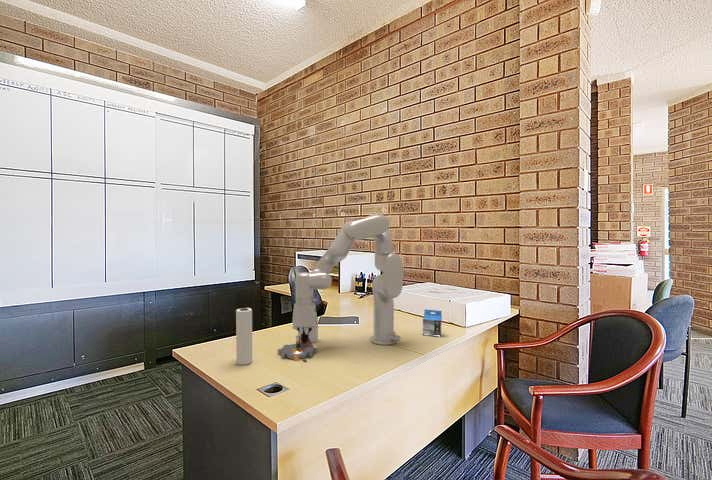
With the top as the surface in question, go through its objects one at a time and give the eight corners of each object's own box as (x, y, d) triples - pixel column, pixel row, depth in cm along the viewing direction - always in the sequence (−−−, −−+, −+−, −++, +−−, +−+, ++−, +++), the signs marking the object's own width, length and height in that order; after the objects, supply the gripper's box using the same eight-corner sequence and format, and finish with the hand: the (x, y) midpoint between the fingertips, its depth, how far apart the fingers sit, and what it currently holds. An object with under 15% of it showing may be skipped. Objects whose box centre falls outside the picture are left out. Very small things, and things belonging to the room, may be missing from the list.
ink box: (304, 345, 163) (303, 319, 163) (297, 343, 167) (297, 317, 166) (318, 341, 169) (318, 316, 169) (311, 338, 173) (311, 314, 172)
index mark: (302, 360, 145) (302, 359, 145) (305, 359, 145) (305, 359, 145) (304, 362, 143) (304, 361, 143) (307, 361, 143) (307, 361, 143)
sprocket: (317, 346, 161) (317, 333, 161) (316, 359, 145) (316, 345, 145) (280, 347, 160) (280, 334, 160) (275, 361, 143) (275, 346, 143)
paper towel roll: (243, 366, 138) (243, 311, 137) (233, 363, 141) (232, 309, 141) (257, 360, 144) (257, 308, 144) (247, 357, 147) (247, 306, 147)
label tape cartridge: (422, 335, 179) (422, 310, 178) (423, 333, 182) (424, 309, 182) (440, 337, 175) (440, 312, 175) (441, 335, 179) (441, 310, 179)
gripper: (323, 299, 159) (323, 340, 160) (290, 298, 160) (290, 339, 161) (319, 303, 151) (320, 345, 152) (285, 302, 153) (285, 344, 153)
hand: (304, 342), depth 156 cm, fingers closed
